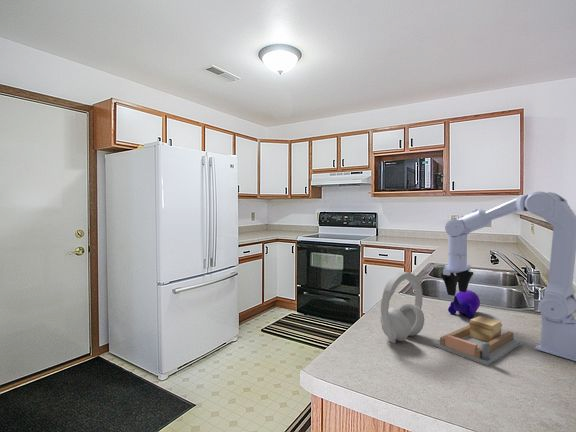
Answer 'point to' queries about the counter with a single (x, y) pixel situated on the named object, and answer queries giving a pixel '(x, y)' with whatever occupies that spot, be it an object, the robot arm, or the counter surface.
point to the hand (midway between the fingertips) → (457, 293)
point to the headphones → (401, 310)
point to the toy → (465, 303)
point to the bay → (477, 345)
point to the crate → (485, 328)
